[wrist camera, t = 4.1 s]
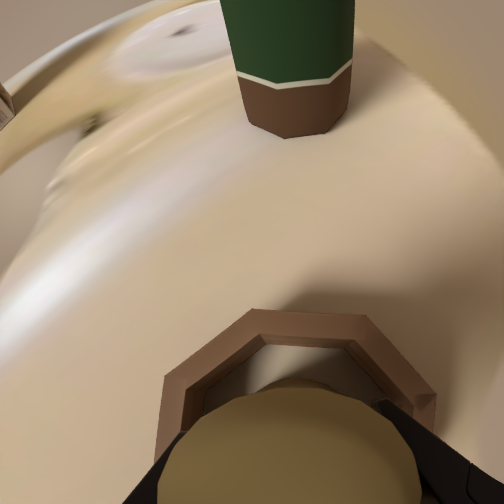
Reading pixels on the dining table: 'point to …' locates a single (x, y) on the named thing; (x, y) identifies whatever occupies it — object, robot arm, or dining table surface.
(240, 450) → the cork
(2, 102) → the coffee box
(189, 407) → the guard ring
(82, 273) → the dining table surface
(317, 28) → the beer bottle
